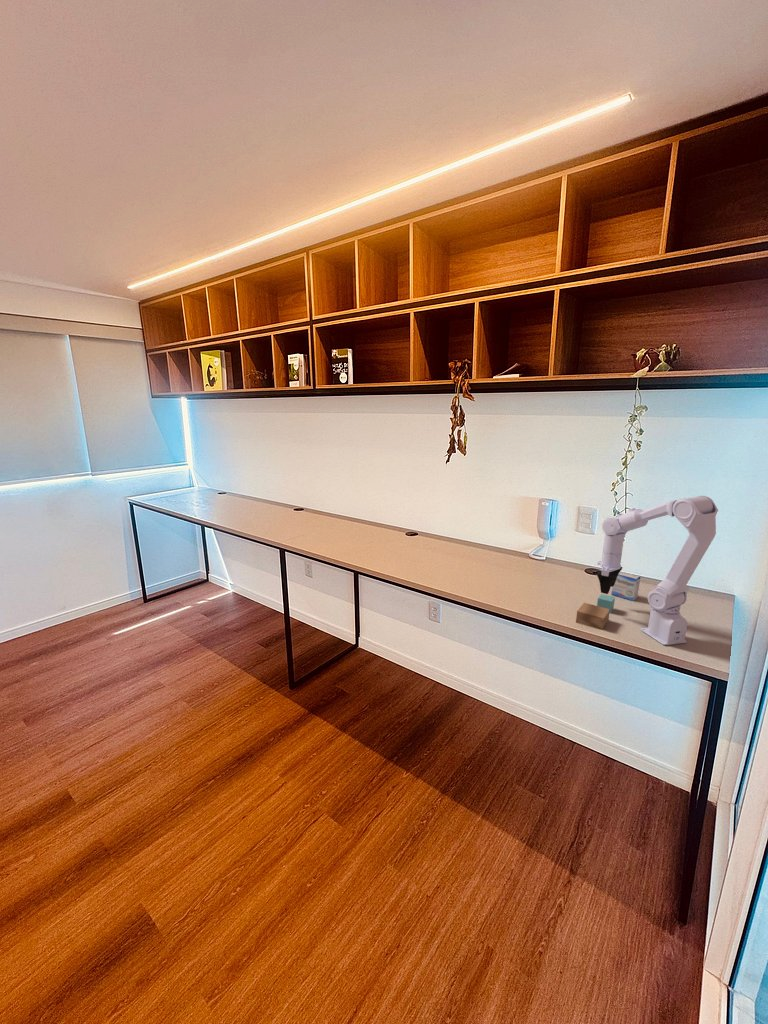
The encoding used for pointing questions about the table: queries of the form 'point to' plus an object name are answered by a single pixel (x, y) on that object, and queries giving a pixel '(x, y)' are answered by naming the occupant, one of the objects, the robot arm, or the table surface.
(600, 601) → the teal cube
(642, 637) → the table surface
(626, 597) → the medicine box
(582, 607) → the walnut block
